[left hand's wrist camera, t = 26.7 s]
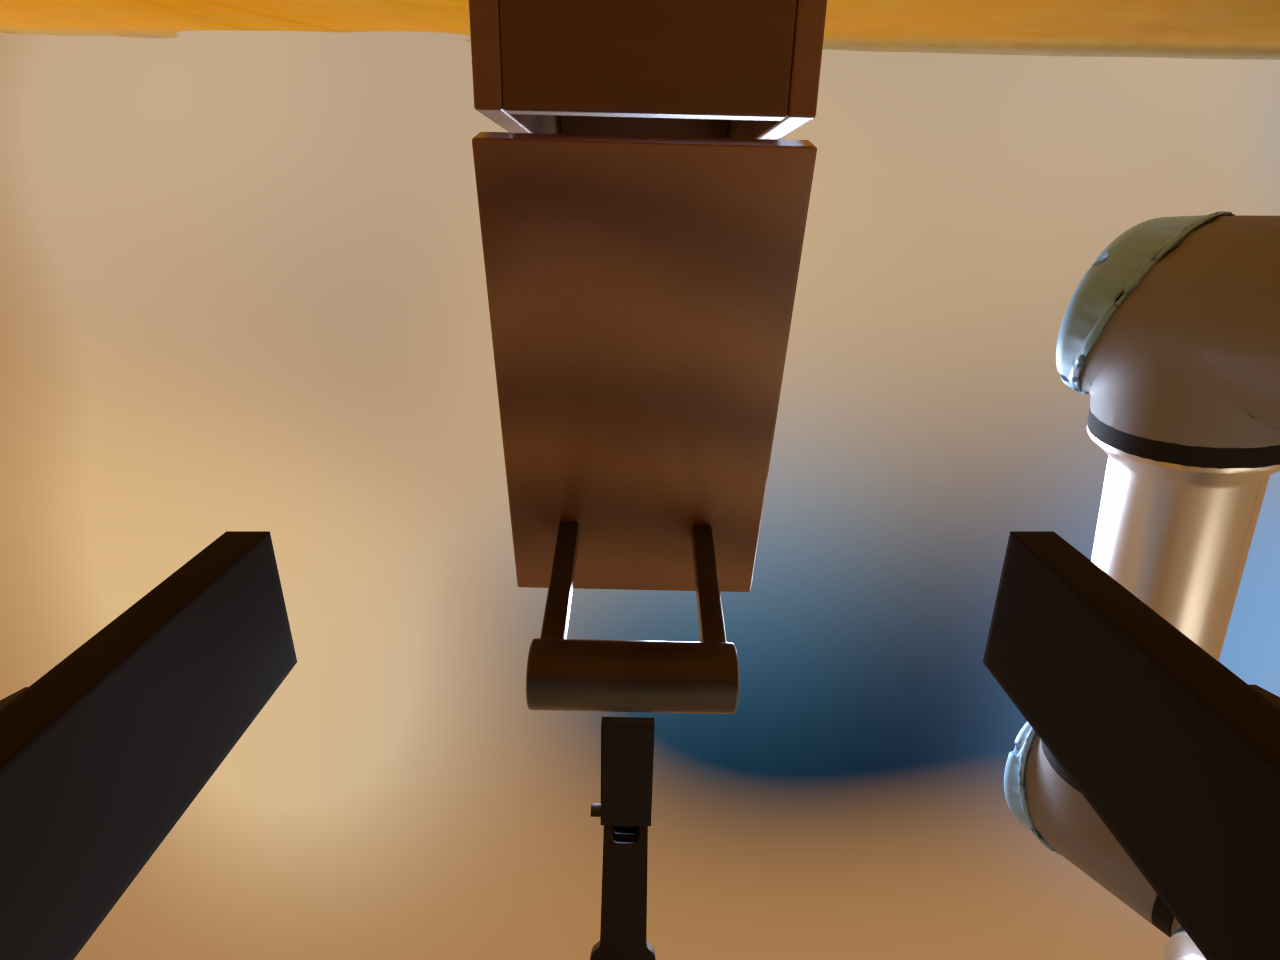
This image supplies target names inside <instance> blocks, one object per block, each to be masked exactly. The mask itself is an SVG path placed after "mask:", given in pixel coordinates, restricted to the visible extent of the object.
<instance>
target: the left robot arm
mask: <svg viewBox="0 0 1280 960" xmlns="http://www.w3.org/2000/svg"><path fill="white" fill-rule="evenodd" d="M296 663H297V659H296V654H295V650H294V645H293V640H292V635H291V631H290V626H289V621H288V616H287V612H286V607H285V602H284V597H283V593H282V588H281V583H280V578H279V574H278V569H277V564H276V560H275V555H274V550H273V545H272V540H271V536H270V532H225V533H224V534H223V535H221V536H220V537H219V538H218V539H216V540H215V541H214V542H213V543H211V544H210V545H209V546H208V547H206V548H205V549H204V550H202V551H201V552H200V553H199V554H197V555H196V556H195V557H194V558H192V559H191V560H190V561H188V562H187V563H186V564H185V565H183V566H182V567H181V568H180V569H178V570H177V571H176V572H175V573H173V574H172V575H171V576H169V577H168V578H167V579H166V580H164V581H163V582H162V583H161V584H159V585H158V586H157V587H155V588H154V589H153V590H152V591H150V592H149V593H148V594H147V595H145V596H144V597H143V598H142V599H140V600H139V601H138V602H136V603H135V604H134V605H133V606H131V607H130V608H129V609H128V610H126V611H125V612H124V613H122V614H121V615H120V616H119V617H117V618H116V619H115V620H114V621H112V622H111V623H110V624H109V625H107V626H106V627H105V628H103V629H102V630H101V631H100V632H98V633H97V634H96V635H95V636H93V637H92V638H91V639H89V640H88V641H87V642H86V643H84V644H83V645H82V646H81V647H79V648H78V649H77V650H76V651H74V652H73V653H72V654H70V655H69V656H68V657H67V658H65V659H64V660H63V661H62V662H60V663H59V664H58V665H56V666H55V667H54V668H53V669H51V670H50V671H49V672H48V673H46V674H45V675H44V676H43V677H41V678H40V679H39V680H37V681H36V682H35V683H34V684H32V685H31V686H30V687H25V688H23V689H21V690H19V691H17V692H16V693H14V694H12V695H10V696H8V697H6V698H4V699H2V700H0V960H74V958H75V957H76V956H77V954H78V953H79V952H80V950H81V949H82V948H83V946H84V945H85V944H86V942H87V941H88V940H89V938H90V937H91V936H92V934H93V933H94V932H95V930H96V929H97V928H98V926H99V925H100V924H101V922H102V921H103V920H104V918H105V917H106V916H107V914H108V913H109V912H110V910H111V909H112V908H113V906H114V905H115V904H116V902H117V901H118V900H119V898H120V897H121V896H122V894H123V893H124V892H125V890H126V889H127V888H128V886H129V885H130V884H131V882H132V881H133V880H134V878H135V877H136V876H137V874H138V873H139V872H140V870H141V869H142V868H143V866H144V865H145V864H146V862H147V861H148V860H149V858H150V857H151V856H152V854H153V853H154V852H155V850H156V849H157V848H158V846H159V845H160V844H161V842H162V841H163V840H164V838H165V837H166V836H167V834H168V833H169V832H170V831H171V829H172V828H173V827H174V825H175V824H176V822H177V821H178V820H179V819H180V817H181V816H182V815H183V813H184V812H185V810H186V809H187V808H188V807H189V805H190V804H191V803H192V801H193V800H194V799H195V797H196V796H197V795H198V793H199V792H200V791H201V789H202V788H203V787H204V785H205V784H206V783H207V781H208V780H209V779H210V777H211V776H212V775H213V773H214V772H215V771H216V769H217V768H218V767H219V765H220V764H221V763H222V761H223V760H224V759H225V757H226V756H227V755H228V753H229V752H230V751H231V749H232V748H233V747H234V745H235V744H236V743H237V741H238V740H239V739H240V737H241V736H242V735H243V733H244V732H245V731H246V729H247V728H248V727H249V725H250V724H251V723H252V721H253V720H254V719H255V717H256V716H257V715H258V713H259V712H260V711H261V709H262V708H263V707H264V705H265V704H266V703H267V701H268V700H269V699H270V697H271V696H272V695H273V693H274V692H275V691H276V689H277V688H278V687H279V685H280V684H281V683H282V681H283V680H284V679H285V677H286V676H287V675H288V673H289V672H290V671H291V669H292V668H293V667H294V665H295V664H296ZM983 663H984V664H985V665H986V667H987V668H988V669H989V671H990V672H991V673H992V675H993V676H994V677H995V679H996V680H997V681H998V683H999V684H1000V685H1001V687H1002V688H1003V689H1004V691H1005V692H1006V693H1007V695H1008V696H1009V697H1010V699H1011V700H1012V701H1013V703H1014V704H1015V705H1016V707H1017V708H1018V709H1019V711H1020V712H1021V713H1022V715H1023V716H1024V717H1025V719H1026V720H1027V721H1028V723H1029V724H1030V725H1031V727H1032V728H1033V729H1034V731H1035V732H1036V733H1037V735H1038V736H1039V737H1040V739H1041V740H1042V741H1043V743H1044V744H1045V745H1046V747H1047V748H1048V749H1049V751H1050V752H1051V753H1052V755H1053V756H1054V757H1055V759H1056V760H1057V761H1058V763H1059V764H1060V765H1061V767H1062V768H1063V769H1064V771H1065V772H1066V773H1067V775H1068V776H1069V777H1070V779H1071V780H1072V781H1073V783H1074V784H1075V785H1076V787H1077V788H1078V789H1079V791H1080V792H1081V793H1082V795H1083V796H1084V797H1085V799H1086V800H1087V801H1088V803H1089V804H1090V805H1091V807H1092V808H1093V809H1094V811H1095V812H1096V813H1097V815H1098V816H1099V817H1100V819H1101V820H1102V821H1103V823H1104V824H1105V825H1106V827H1107V828H1108V829H1109V831H1110V832H1111V833H1112V834H1113V836H1114V837H1115V838H1116V840H1117V841H1118V842H1119V844H1120V845H1121V846H1122V848H1123V849H1124V850H1125V852H1126V853H1127V854H1128V856H1129V857H1130V858H1131V860H1132V861H1133V862H1134V864H1135V865H1136V866H1137V868H1138V869H1139V870H1140V872H1141V873H1142V874H1143V876H1144V877H1145V878H1146V880H1147V881H1148V882H1149V884H1150V885H1151V886H1152V888H1153V889H1154V890H1155V892H1156V893H1157V894H1158V896H1159V897H1160V898H1161V900H1162V901H1163V902H1164V904H1165V905H1166V906H1167V908H1168V909H1169V910H1170V912H1171V913H1172V914H1173V916H1174V917H1175V918H1176V920H1177V921H1178V922H1179V924H1180V925H1181V926H1182V928H1183V929H1184V930H1185V932H1186V933H1187V934H1188V936H1189V937H1190V938H1191V940H1192V941H1193V942H1194V944H1195V945H1196V946H1197V948H1198V949H1199V950H1200V952H1201V953H1202V954H1203V956H1204V957H1205V958H1206V960H1280V697H1278V696H1276V695H1274V694H1272V693H1270V692H1268V691H1266V690H1264V689H1263V688H1261V687H1259V686H1257V685H1248V684H1246V683H1245V682H1244V681H1243V680H1241V679H1240V678H1239V677H1237V676H1236V675H1235V674H1234V673H1232V672H1231V671H1230V670H1229V669H1227V668H1226V667H1225V666H1223V665H1222V664H1221V663H1220V662H1218V661H1217V660H1216V659H1215V658H1213V657H1212V656H1211V655H1210V654H1208V653H1207V652H1206V651H1204V650H1203V649H1202V648H1201V647H1199V646H1198V645H1197V644H1196V643H1194V642H1193V641H1192V640H1191V639H1189V638H1188V637H1187V636H1185V635H1184V634H1183V633H1182V632H1180V631H1179V630H1178V629H1177V628H1175V627H1174V626H1173V625H1171V624H1170V623H1169V622H1168V621H1166V620H1165V619H1164V618H1163V617H1161V616H1160V615H1159V614H1158V613H1156V612H1155V611H1154V610H1152V609H1151V608H1150V607H1149V606H1147V605H1146V604H1145V603H1144V602H1142V601H1141V600H1140V599H1138V598H1137V597H1136V596H1135V595H1133V594H1132V593H1131V592H1130V591H1128V590H1127V589H1126V588H1125V587H1123V586H1122V585H1121V584H1119V583H1118V582H1117V581H1116V580H1114V579H1113V578H1112V577H1111V576H1109V575H1108V574H1107V573H1105V572H1104V571H1103V570H1102V569H1100V568H1099V567H1098V566H1097V565H1095V564H1094V563H1093V562H1092V561H1090V560H1089V559H1088V558H1086V557H1085V556H1084V555H1083V554H1081V553H1080V552H1079V551H1078V550H1076V549H1075V548H1074V547H1073V546H1071V545H1070V544H1069V543H1067V542H1066V541H1065V540H1064V539H1062V538H1061V537H1060V536H1058V535H1057V534H1056V533H1055V532H1010V536H1009V540H1008V545H1007V550H1006V555H1005V559H1004V564H1003V569H1002V574H1001V578H1000V583H999V588H998V593H997V597H996V602H995V607H994V612H993V616H992V621H991V626H990V631H989V635H988V640H987V645H986V650H985V654H984V659H983Z"/></svg>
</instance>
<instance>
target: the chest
mask: <svg viewBox="0 0 1280 960" xmlns="http://www.w3.org/2000/svg"><path fill="white" fill-rule="evenodd" d="M826 6H827V0H469V12H470V31H471V50H472V70H473V89H474V107H475V109H476V110H477V111H479V112H480V113H482V114H483V115H485V116H486V117H488V118H489V119H491V120H492V121H494V122H495V123H497V124H498V125H500V126H501V127H503V128H504V129H506V130H507V131H508V132H510V133H543V134H582V135H621V136H660V137H699V138H738V139H777V140H778V139H780V138H781V137H783V136H785V135H786V134H788V133H790V132H791V131H793V130H795V129H796V128H798V127H800V126H801V125H803V124H805V123H807V122H808V121H810V120H812V119H813V118H815V116H816V109H817V98H818V88H819V78H820V68H821V57H822V47H823V37H824V27H825V17H826Z"/></svg>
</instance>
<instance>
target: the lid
mask: <svg viewBox="0 0 1280 960" xmlns="http://www.w3.org/2000/svg"><path fill="white" fill-rule="evenodd" d="M472 146H473V156H474V165H475V175H476V185H477V194H478V204H479V214H480V224H481V233H482V243H483V253H484V263H485V272H486V282H487V291H488V301H489V311H490V321H491V331H492V340H493V350H494V360H495V369H496V379H497V389H498V399H499V408H500V418H501V428H502V437H503V447H504V457H505V466H506V476H507V486H508V496H509V505H510V515H511V525H512V535H513V544H514V554H515V564H516V574H517V583H518V587H537V588H549V589H548V595H547V601H546V607H545V613H544V619H543V625H542V631H541V637H540V639H533V640H532V643H531V645H530V649H529V655H528V663H527V675H526V698H527V705H528V708H529V709H531V710H562V711H613V712H663V713H713V714H733V713H735V711H736V709H737V705H738V696H739V667H738V657H737V651H736V647H735V645H734V644H733V643H727V642H726V636H725V628H724V620H723V612H722V604H721V596H720V591H726V592H750V589H751V583H752V576H753V570H754V563H755V556H756V550H757V543H758V537H759V530H760V523H761V517H762V510H763V503H764V497H765V490H766V484H767V477H768V470H769V464H770V457H771V450H772V444H773V437H774V430H775V424H776V417H777V411H778V404H779V398H780V391H781V384H782V378H783V371H784V364H785V358H786V351H787V344H788V338H789V331H790V325H791V318H792V311H793V305H794V298H795V292H796V285H797V278H798V272H799V265H800V258H801V252H802V245H803V238H804V232H805V225H806V219H807V212H808V206H809V199H810V192H811V186H812V179H813V172H814V165H815V159H816V152H817V148H816V147H815V146H814V145H813V144H812V143H811V142H810V141H808V140H777V139H738V138H699V137H660V136H621V135H582V134H543V133H504V132H480V133H479V134H478V135H476V136H475V137H474V138H473V139H472ZM573 588H584V589H631V590H679V591H696V596H697V608H698V620H699V632H700V642H677V641H630V640H582V639H567V631H568V623H569V615H570V607H571V599H572V591H573Z"/></svg>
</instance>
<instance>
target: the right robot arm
mask: <svg viewBox="0 0 1280 960" xmlns="http://www.w3.org/2000/svg"><path fill="white" fill-rule="evenodd" d="M1056 364H1057V370H1058V372H1059V373H1060V374H1061V379H1062V380H1063V382H1064V383H1065V384H1066V385H1067V386H1069V387H1070V388H1072V389H1074V390H1075V391H1077V392H1079V393H1081V394H1089V393H1090V394H1091V402H1090V409H1089V416H1088V423H1087V432H1088V434H1089V436H1090V437H1091V439H1092V440H1093V441H1094V442H1096V443H1097V444H1098V445H1099V446H1100V447H1101V448H1102V449H1103V450H1104V451H1105V452H1106V453H1107V454H1108V461H1107V467H1106V473H1105V479H1104V485H1103V491H1102V498H1101V503H1100V509H1099V516H1098V522H1097V528H1096V534H1095V540H1094V546H1093V552H1092V558H1091V561H1092V562H1093V563H1094V564H1095V565H1097V566H1098V567H1099V568H1100V569H1102V570H1103V571H1104V572H1105V573H1107V574H1108V575H1109V576H1111V577H1112V578H1113V579H1114V580H1116V581H1117V582H1118V583H1119V584H1121V585H1122V586H1123V587H1125V588H1126V589H1127V590H1128V591H1130V592H1131V593H1132V594H1133V595H1135V596H1136V597H1137V598H1138V599H1140V600H1141V601H1142V602H1144V603H1145V604H1146V605H1147V606H1149V607H1150V608H1151V609H1152V610H1154V611H1155V612H1156V613H1158V614H1159V615H1160V616H1161V617H1163V618H1164V619H1165V620H1166V621H1168V622H1169V623H1170V624H1171V625H1173V626H1174V627H1175V628H1177V629H1178V630H1179V631H1180V632H1182V633H1183V634H1184V635H1185V636H1187V637H1188V638H1189V639H1191V640H1192V641H1193V642H1194V643H1196V644H1197V645H1198V646H1199V647H1201V648H1202V649H1203V650H1204V651H1206V652H1207V653H1208V654H1210V655H1211V656H1212V657H1213V658H1215V659H1216V660H1217V661H1219V657H1220V653H1221V650H1222V646H1223V642H1224V639H1225V635H1226V632H1227V628H1228V624H1229V621H1230V617H1231V613H1232V610H1233V606H1234V603H1235V599H1236V595H1237V592H1238V588H1239V584H1240V581H1241V577H1242V573H1243V570H1244V566H1245V563H1246V559H1247V555H1248V552H1249V548H1250V544H1251V541H1252V537H1253V534H1254V530H1255V526H1256V523H1257V519H1258V515H1259V512H1260V508H1261V505H1262V501H1263V498H1264V494H1265V490H1266V487H1267V483H1268V479H1269V476H1270V475H1271V474H1273V473H1276V472H1278V471H1280V216H1235V215H1234V214H1232V213H1231V212H1224V211H1223V212H1216V213H1213V214H1209V215H1205V216H1181V217H1162V218H1155V219H1151V220H1148V221H1145V222H1142V223H1140V224H1138V225H1136V226H1134V227H1132V228H1130V229H1129V230H1127V231H1125V232H1124V233H1123V234H1121V235H1120V236H1119V237H1118V238H1116V239H1115V240H1114V241H1113V242H1112V243H1111V244H1110V245H1108V246H1107V247H1106V248H1105V249H1104V250H1103V252H1102V253H1101V254H1100V255H1099V256H1098V258H1097V259H1096V261H1095V262H1094V264H1093V265H1092V267H1091V268H1090V269H1089V270H1088V271H1087V272H1086V273H1085V275H1084V277H1083V278H1082V280H1081V281H1080V283H1079V285H1078V287H1077V288H1076V290H1075V292H1074V294H1073V296H1072V298H1071V300H1070V303H1069V305H1068V307H1067V310H1066V312H1065V315H1064V318H1063V321H1062V324H1061V328H1060V331H1059V335H1058V340H1057V347H1056ZM1015 744H1016V746H1015V749H1014V751H1012V752H1010V753H1009V756H1008V759H1007V763H1006V768H1005V774H1004V791H1005V796H1006V800H1007V803H1008V806H1009V808H1010V810H1011V812H1012V813H1013V815H1014V816H1015V818H1016V819H1017V820H1018V821H1019V822H1020V823H1021V824H1022V825H1024V826H1025V827H1026V828H1027V829H1028V830H1030V831H1031V832H1032V833H1033V834H1035V835H1036V836H1037V837H1038V839H1039V840H1040V842H1041V843H1042V844H1043V845H1045V846H1046V847H1047V848H1049V849H1050V850H1051V851H1054V852H1056V853H1058V854H1061V855H1062V856H1064V857H1065V858H1066V859H1068V860H1069V861H1070V862H1072V863H1073V864H1074V865H1075V866H1077V867H1078V868H1079V869H1081V870H1082V871H1083V872H1085V873H1086V874H1087V875H1089V876H1090V877H1091V878H1092V879H1094V880H1095V881H1096V882H1098V883H1099V884H1100V885H1102V886H1103V887H1104V888H1106V889H1107V890H1108V891H1110V892H1111V893H1112V894H1113V895H1115V896H1116V897H1117V898H1119V899H1120V900H1121V901H1123V902H1124V903H1125V904H1126V905H1128V906H1129V907H1130V908H1132V909H1133V910H1134V911H1136V912H1137V913H1138V914H1140V915H1141V916H1142V917H1144V918H1145V919H1146V920H1147V921H1149V922H1150V923H1151V924H1153V925H1154V926H1156V927H1157V928H1158V929H1160V930H1161V931H1162V932H1164V933H1165V934H1166V935H1167V936H1169V937H1170V938H1169V939H1168V941H1167V942H1166V945H1165V947H1164V958H1165V960H1206V958H1205V957H1204V956H1203V954H1202V953H1201V952H1200V950H1199V949H1198V948H1197V946H1196V945H1195V944H1194V942H1193V941H1192V940H1191V938H1190V937H1189V936H1188V934H1187V933H1186V932H1185V930H1184V929H1183V928H1182V926H1181V925H1180V924H1179V922H1178V921H1177V920H1176V918H1175V917H1174V916H1173V914H1172V913H1171V912H1170V910H1169V909H1168V908H1167V906H1166V905H1165V904H1164V902H1163V901H1162V900H1161V898H1160V897H1159V896H1158V894H1157V893H1156V892H1155V890H1154V889H1153V888H1152V886H1151V885H1150V884H1149V882H1148V881H1147V880H1146V878H1145V877H1144V876H1143V874H1142V873H1141V872H1140V870H1139V869H1138V868H1137V866H1136V865H1135V864H1134V862H1133V861H1132V860H1131V858H1130V857H1129V856H1128V854H1127V853H1126V852H1125V850H1124V849H1123V848H1122V846H1121V845H1120V844H1119V842H1118V841H1117V840H1116V838H1115V837H1114V836H1113V834H1112V833H1111V832H1110V831H1109V829H1108V828H1107V827H1106V825H1105V824H1104V823H1103V821H1102V820H1101V819H1100V817H1099V816H1098V815H1097V813H1096V812H1095V811H1094V809H1093V808H1092V807H1091V805H1090V804H1089V803H1088V801H1087V800H1086V799H1085V797H1084V796H1083V795H1082V793H1081V792H1080V791H1079V789H1078V788H1077V787H1076V785H1075V784H1074V783H1073V781H1072V780H1071V779H1070V777H1069V776H1068V775H1067V773H1066V772H1065V771H1064V769H1063V768H1062V767H1061V765H1060V764H1059V763H1058V761H1057V760H1056V759H1055V757H1054V756H1053V755H1052V753H1051V752H1050V751H1049V749H1048V748H1047V747H1046V745H1045V744H1044V743H1043V741H1042V740H1041V739H1040V737H1039V736H1038V735H1037V733H1036V732H1035V731H1034V729H1033V728H1032V727H1031V725H1030V724H1029V723H1028V721H1027V722H1026V724H1025V725H1024V726H1023V728H1022V729H1021V731H1020V732H1019V734H1018V736H1017V738H1016V740H1015ZM653 752H654V718H634V717H602V723H601V804H592V805H591V816H594V817H601V825H604V842H603V874H602V905H601V936H600V941H599V942H598V943H597V944H595V945H594V946H593V948H592V952H591V958H590V960H655V952H654V949H653V947H652V946H651V945H650V944H649V943H648V942H647V941H646V915H647V836H648V826H651V806H652V779H653Z"/></svg>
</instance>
